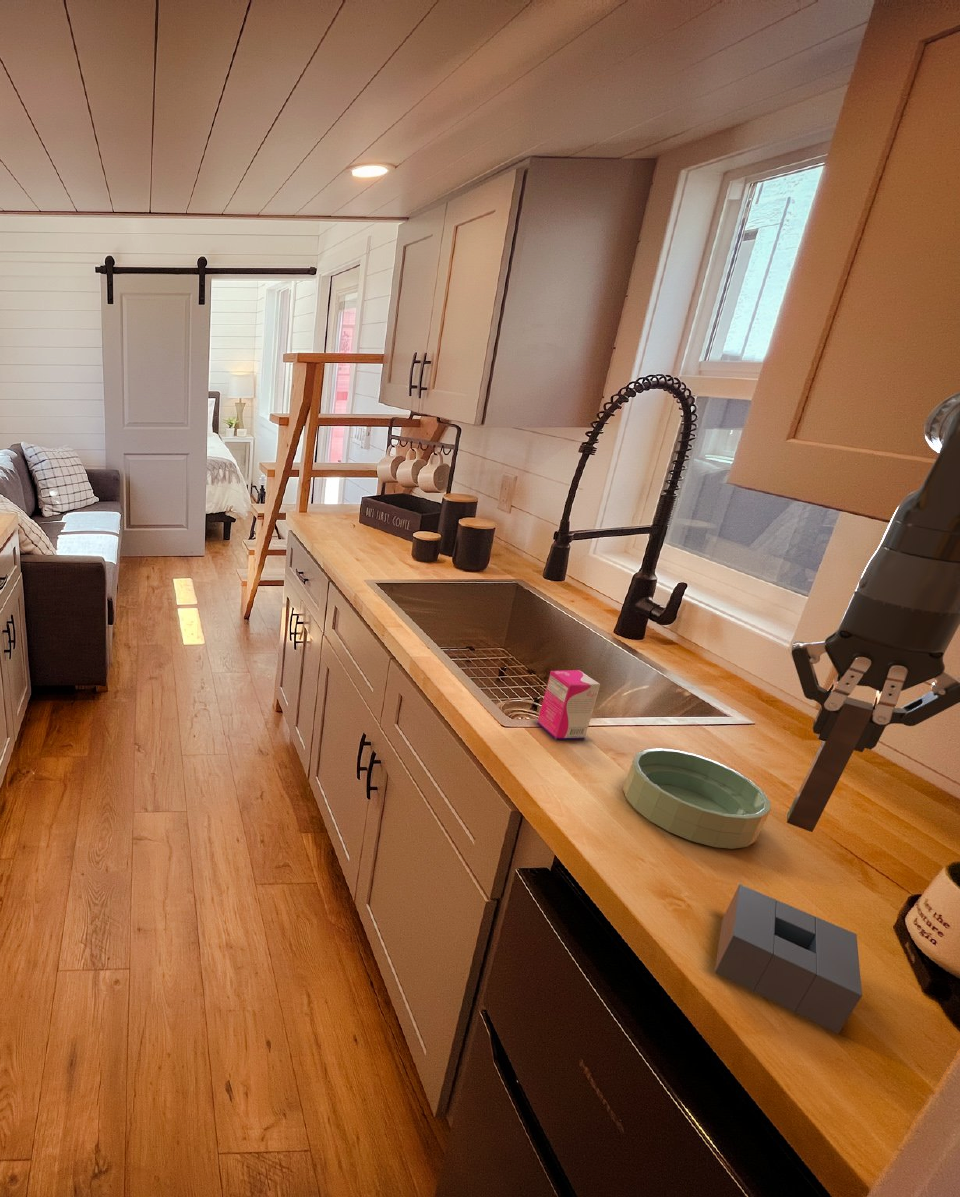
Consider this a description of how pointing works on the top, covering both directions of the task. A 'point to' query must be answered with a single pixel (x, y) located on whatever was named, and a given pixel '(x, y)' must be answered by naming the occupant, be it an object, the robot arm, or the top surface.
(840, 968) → the holder
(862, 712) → the rectangular peg
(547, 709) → the supplement box
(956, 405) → the robot arm
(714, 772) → the bowl
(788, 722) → the top surface
